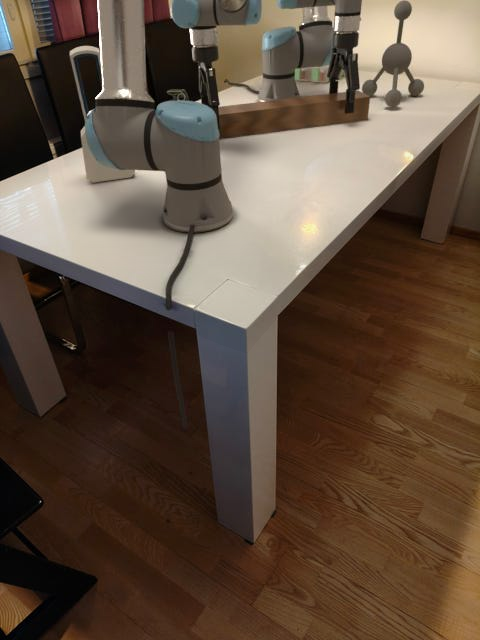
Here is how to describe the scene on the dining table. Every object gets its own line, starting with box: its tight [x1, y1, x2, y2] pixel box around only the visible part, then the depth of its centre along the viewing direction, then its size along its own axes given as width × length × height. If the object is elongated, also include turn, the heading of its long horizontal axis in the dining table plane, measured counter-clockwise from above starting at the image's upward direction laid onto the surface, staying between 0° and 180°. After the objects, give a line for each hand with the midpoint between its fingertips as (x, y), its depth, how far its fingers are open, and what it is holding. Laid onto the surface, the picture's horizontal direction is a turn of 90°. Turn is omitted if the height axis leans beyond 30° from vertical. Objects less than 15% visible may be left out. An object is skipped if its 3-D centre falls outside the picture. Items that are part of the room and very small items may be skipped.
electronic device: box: [69, 45, 136, 184], centre depth 120 cm, size 12×8×30 cm, turn 105°
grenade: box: [166, 89, 190, 101], centre depth 162 cm, size 7×6×10 cm
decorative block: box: [295, 65, 345, 84], centre depth 207 cm, size 26×6×20 cm
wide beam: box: [218, 90, 371, 140], centre depth 154 cm, size 59×9×7 cm, turn 104°
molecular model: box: [361, 0, 425, 108], centre depth 166 cm, size 24×22×30 cm
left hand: (211, 123), depth 151 cm, fingers open, 13 cm apart
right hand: (340, 107), depth 158 cm, fingers open, 13 cm apart
